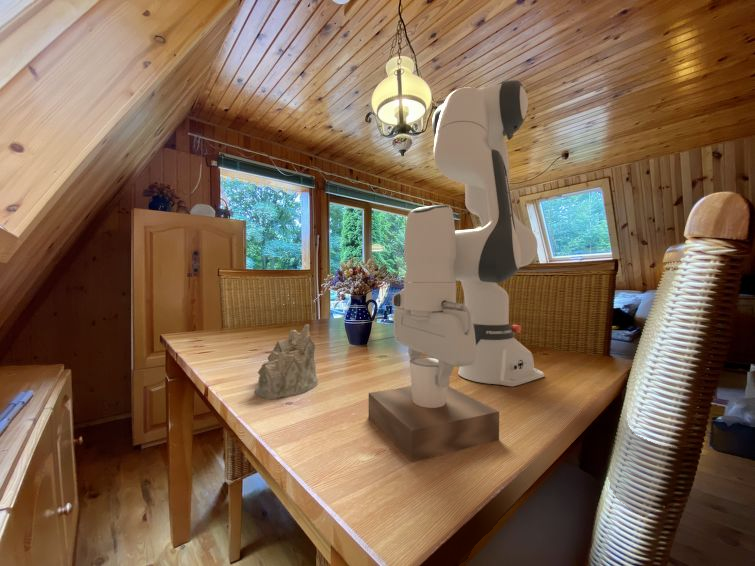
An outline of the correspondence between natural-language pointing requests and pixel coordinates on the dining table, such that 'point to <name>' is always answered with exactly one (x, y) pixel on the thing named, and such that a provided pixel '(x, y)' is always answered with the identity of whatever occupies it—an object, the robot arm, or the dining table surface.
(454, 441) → the walnut block
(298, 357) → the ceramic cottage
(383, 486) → the dining table surface
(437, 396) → the white cup
